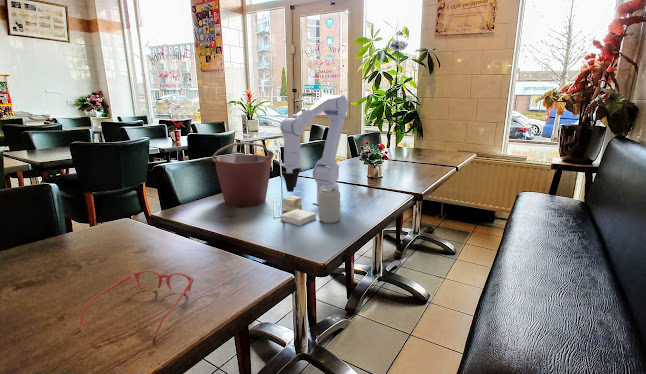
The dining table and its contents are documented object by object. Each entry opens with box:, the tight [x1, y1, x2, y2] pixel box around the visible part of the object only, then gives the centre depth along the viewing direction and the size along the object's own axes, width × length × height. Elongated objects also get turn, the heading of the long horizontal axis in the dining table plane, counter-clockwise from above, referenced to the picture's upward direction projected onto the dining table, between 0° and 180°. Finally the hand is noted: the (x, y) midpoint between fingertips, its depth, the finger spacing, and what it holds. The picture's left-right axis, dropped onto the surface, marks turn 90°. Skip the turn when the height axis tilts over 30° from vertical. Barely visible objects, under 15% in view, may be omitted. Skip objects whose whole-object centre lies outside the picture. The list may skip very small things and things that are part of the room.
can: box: [318, 187, 341, 224], centre depth 123 cm, size 8×8×12 cm
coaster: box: [280, 209, 317, 226], centre depth 125 cm, size 9×9×2 cm
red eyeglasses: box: [79, 270, 194, 335], centre depth 70 cm, size 17×16×5 cm
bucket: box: [211, 142, 275, 209], centre depth 143 cm, size 24×22×25 cm
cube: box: [282, 195, 303, 212], centre depth 135 cm, size 5×5×5 cm
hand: (291, 189), depth 127 cm, fingers open, 7 cm apart
